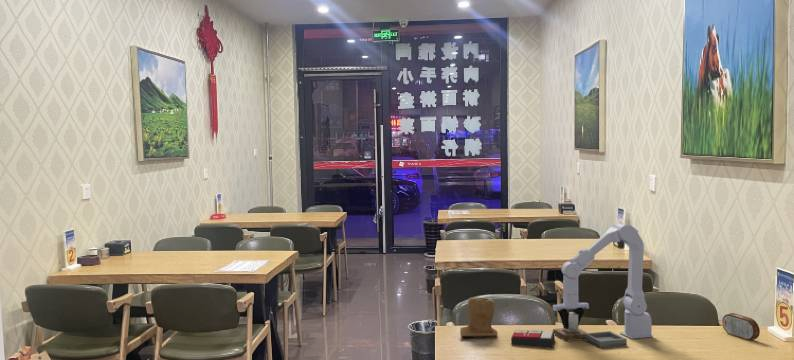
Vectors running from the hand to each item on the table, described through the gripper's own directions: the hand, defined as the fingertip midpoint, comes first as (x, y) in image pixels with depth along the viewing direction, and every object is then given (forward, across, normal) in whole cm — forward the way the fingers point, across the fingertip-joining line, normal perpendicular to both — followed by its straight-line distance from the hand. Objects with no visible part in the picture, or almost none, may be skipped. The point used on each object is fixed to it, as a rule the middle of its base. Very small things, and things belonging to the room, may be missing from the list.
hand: (570, 327), depth 245 cm
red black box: (+4, +17, +3) cm, 18 cm away
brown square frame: (+3, 0, 0) cm, 3 cm away
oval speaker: (+4, -61, +19) cm, 64 cm away
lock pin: (+3, 0, 0) cm, 3 cm away
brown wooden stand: (+4, +34, -12) cm, 36 cm away
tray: (+3, -8, +11) cm, 14 cm away
